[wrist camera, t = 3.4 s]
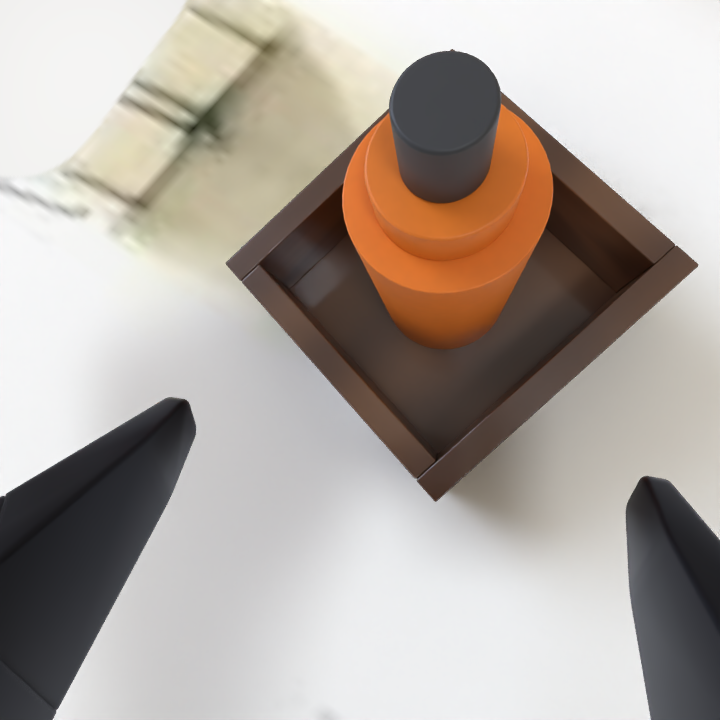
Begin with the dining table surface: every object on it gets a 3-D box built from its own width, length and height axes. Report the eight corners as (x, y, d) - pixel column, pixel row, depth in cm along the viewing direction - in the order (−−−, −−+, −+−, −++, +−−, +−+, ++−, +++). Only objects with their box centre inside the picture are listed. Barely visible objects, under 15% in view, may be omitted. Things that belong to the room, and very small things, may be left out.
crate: (645, 298, 22) (699, 264, 17) (437, 485, 22) (435, 502, 18) (450, 120, 24) (452, 47, 20) (266, 293, 25) (224, 263, 20)
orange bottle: (531, 292, 22) (667, 89, 9) (441, 374, 22) (436, 302, 9) (447, 210, 23) (451, -85, 10) (361, 290, 23) (248, 109, 10)
